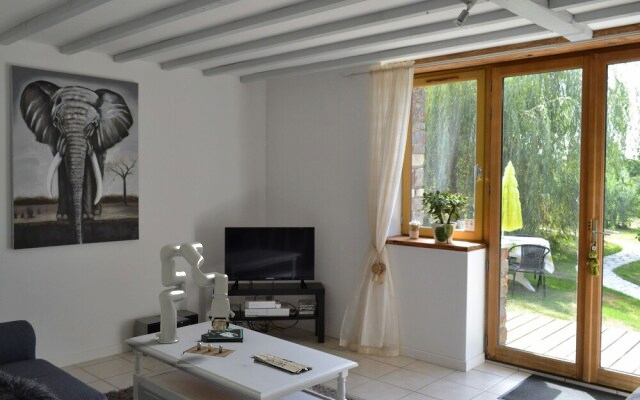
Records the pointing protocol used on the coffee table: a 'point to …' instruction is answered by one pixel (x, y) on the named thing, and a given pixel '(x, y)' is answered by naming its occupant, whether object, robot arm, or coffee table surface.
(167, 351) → the coffee table surface
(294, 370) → the newspaper
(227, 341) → the wall plaque
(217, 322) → the frame
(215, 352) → the board
